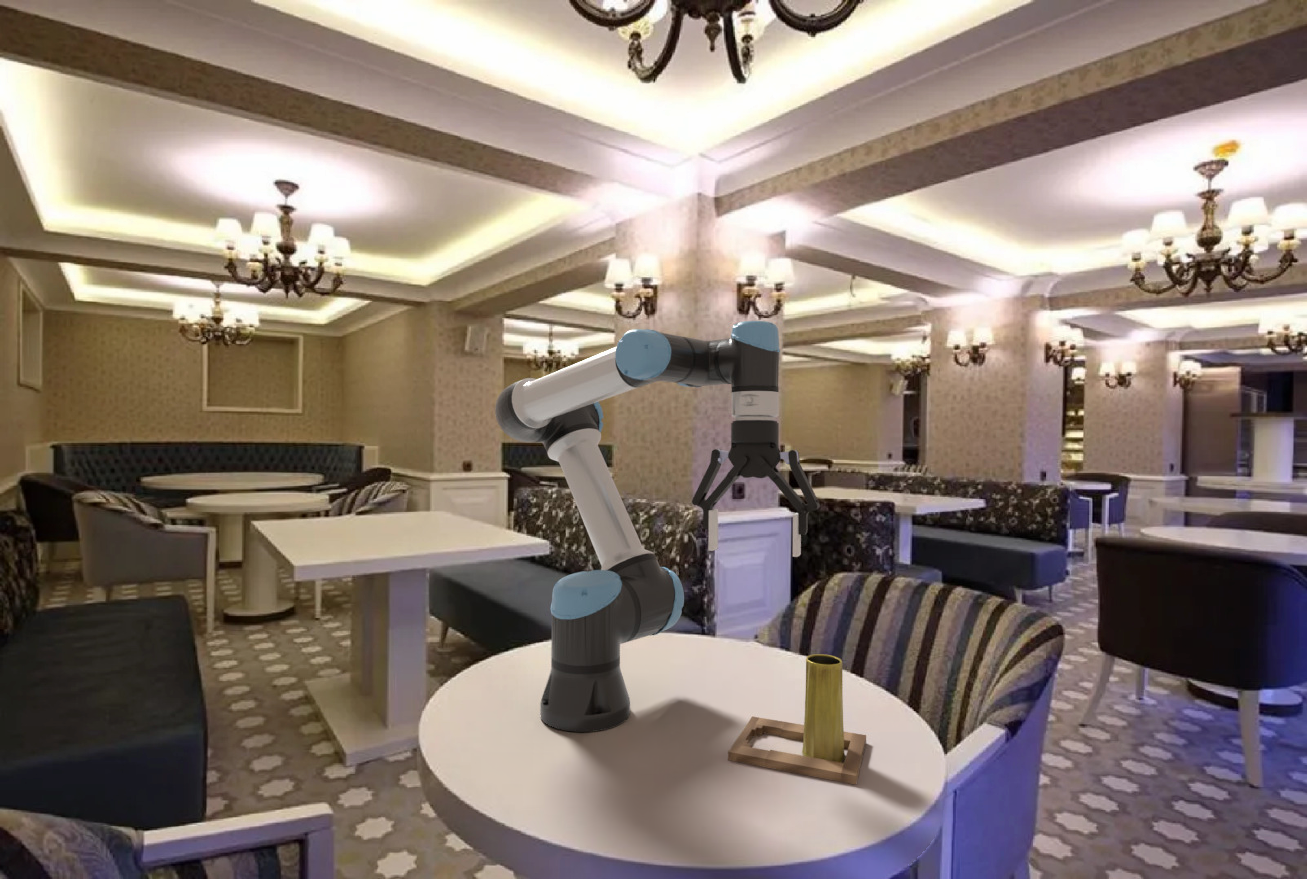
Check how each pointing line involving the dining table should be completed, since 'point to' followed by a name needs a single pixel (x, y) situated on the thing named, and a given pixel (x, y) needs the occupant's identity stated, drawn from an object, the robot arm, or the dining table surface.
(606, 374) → the robot arm
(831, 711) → the vase
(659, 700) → the dining table surface
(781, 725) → the keyhole board
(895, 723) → the dining table surface
